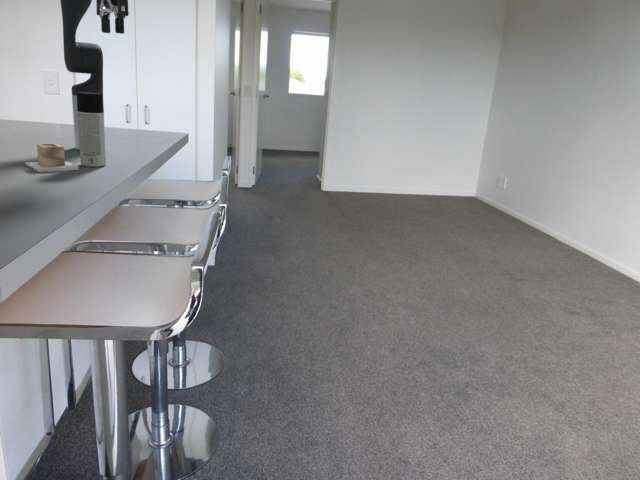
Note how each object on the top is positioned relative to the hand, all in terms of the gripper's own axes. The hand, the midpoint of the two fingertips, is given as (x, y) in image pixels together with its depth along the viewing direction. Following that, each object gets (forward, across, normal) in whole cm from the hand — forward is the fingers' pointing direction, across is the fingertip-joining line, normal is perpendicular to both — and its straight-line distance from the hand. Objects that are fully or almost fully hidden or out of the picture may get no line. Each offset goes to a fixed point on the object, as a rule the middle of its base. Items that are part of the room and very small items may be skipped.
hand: (112, 33), depth 139 cm
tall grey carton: (+36, +2, -8) cm, 37 cm away
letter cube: (+35, +2, -19) cm, 40 cm away
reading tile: (+36, +2, -19) cm, 41 cm away
